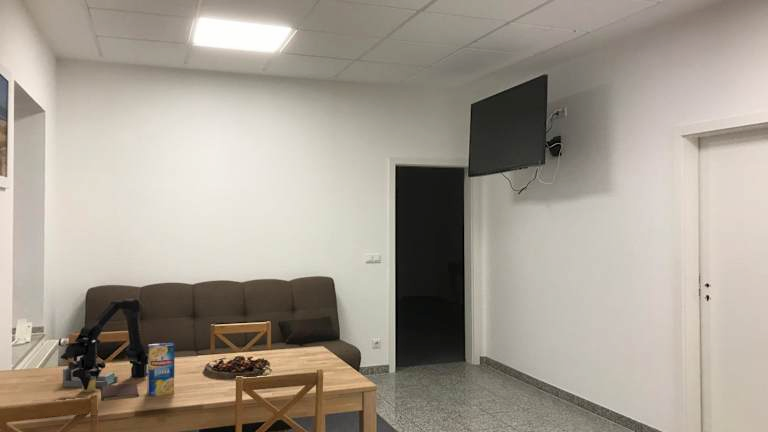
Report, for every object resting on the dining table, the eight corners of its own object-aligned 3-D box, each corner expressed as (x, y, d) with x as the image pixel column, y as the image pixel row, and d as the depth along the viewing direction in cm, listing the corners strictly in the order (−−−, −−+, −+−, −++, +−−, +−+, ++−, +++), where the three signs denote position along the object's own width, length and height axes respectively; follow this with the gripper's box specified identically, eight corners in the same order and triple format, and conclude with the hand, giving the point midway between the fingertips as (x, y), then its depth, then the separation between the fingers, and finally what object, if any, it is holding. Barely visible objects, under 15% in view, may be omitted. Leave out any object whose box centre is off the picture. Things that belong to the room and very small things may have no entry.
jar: (98, 388, 277) (98, 375, 277) (91, 392, 272) (91, 378, 272) (86, 388, 278) (86, 375, 278) (79, 392, 272) (79, 378, 272)
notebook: (136, 386, 284) (136, 382, 284) (138, 397, 266) (138, 392, 266) (101, 390, 278) (101, 385, 278) (101, 401, 260) (101, 397, 260)
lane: (117, 381, 291) (117, 365, 291) (106, 387, 280) (107, 370, 280) (75, 380, 291) (75, 364, 291) (62, 386, 281) (63, 369, 281)
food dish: (256, 363, 336) (257, 349, 336) (280, 377, 308) (280, 362, 308) (193, 369, 317) (194, 354, 317) (213, 384, 289) (213, 368, 289)
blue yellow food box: (147, 392, 272) (147, 344, 272) (172, 389, 277) (172, 342, 277) (148, 396, 266) (149, 347, 266) (174, 393, 271) (174, 345, 271)
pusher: (114, 381, 289) (114, 372, 289) (106, 386, 281) (106, 376, 281) (112, 381, 289) (112, 372, 289) (104, 386, 281) (104, 376, 281)
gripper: (83, 349, 284) (82, 382, 284) (60, 358, 266) (60, 393, 266) (106, 349, 284) (105, 382, 284) (85, 358, 265) (84, 393, 265)
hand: (88, 387), depth 275 cm, fingers closed on jar, 5 cm apart
